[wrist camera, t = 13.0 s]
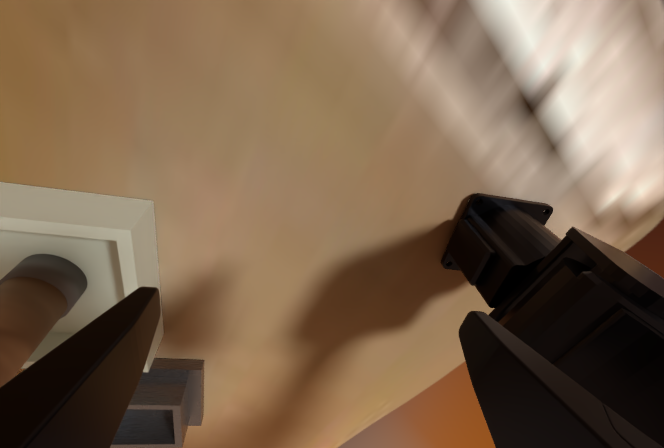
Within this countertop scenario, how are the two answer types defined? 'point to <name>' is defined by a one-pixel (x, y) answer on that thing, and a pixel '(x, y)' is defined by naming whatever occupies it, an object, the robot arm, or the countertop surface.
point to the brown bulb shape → (34, 306)
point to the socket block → (163, 405)
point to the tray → (82, 249)
